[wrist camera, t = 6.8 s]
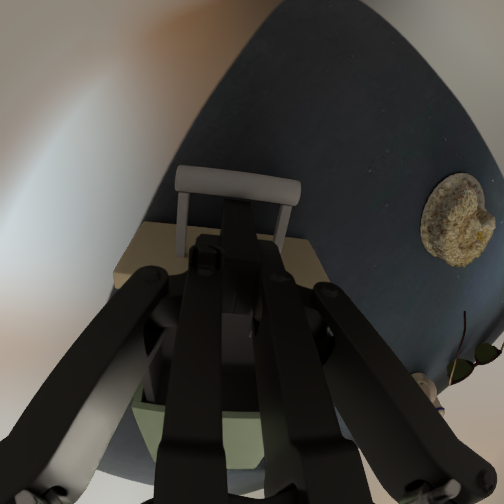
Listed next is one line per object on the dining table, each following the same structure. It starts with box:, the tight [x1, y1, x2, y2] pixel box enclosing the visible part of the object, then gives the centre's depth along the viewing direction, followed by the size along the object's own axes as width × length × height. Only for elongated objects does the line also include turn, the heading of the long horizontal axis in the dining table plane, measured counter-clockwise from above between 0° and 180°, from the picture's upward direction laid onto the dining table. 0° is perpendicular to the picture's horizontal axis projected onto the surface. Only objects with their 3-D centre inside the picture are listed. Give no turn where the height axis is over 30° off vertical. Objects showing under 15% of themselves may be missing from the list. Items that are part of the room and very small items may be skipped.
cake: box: [420, 173, 496, 267], centre depth 22 cm, size 10×10×5 cm
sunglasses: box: [447, 311, 504, 385], centre depth 33 cm, size 14×15×5 cm
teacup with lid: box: [411, 373, 445, 417], centre depth 34 cm, size 12×9×12 cm
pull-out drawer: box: [113, 165, 330, 412], centre depth 22 cm, size 23×13×7 cm, turn 171°
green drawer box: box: [131, 380, 264, 469], centre depth 30 cm, size 19×15×9 cm
